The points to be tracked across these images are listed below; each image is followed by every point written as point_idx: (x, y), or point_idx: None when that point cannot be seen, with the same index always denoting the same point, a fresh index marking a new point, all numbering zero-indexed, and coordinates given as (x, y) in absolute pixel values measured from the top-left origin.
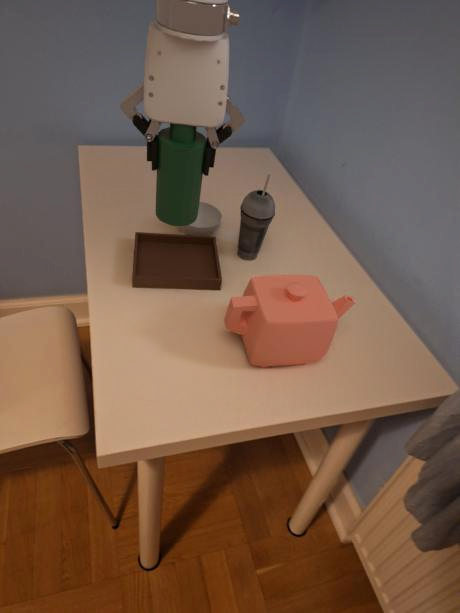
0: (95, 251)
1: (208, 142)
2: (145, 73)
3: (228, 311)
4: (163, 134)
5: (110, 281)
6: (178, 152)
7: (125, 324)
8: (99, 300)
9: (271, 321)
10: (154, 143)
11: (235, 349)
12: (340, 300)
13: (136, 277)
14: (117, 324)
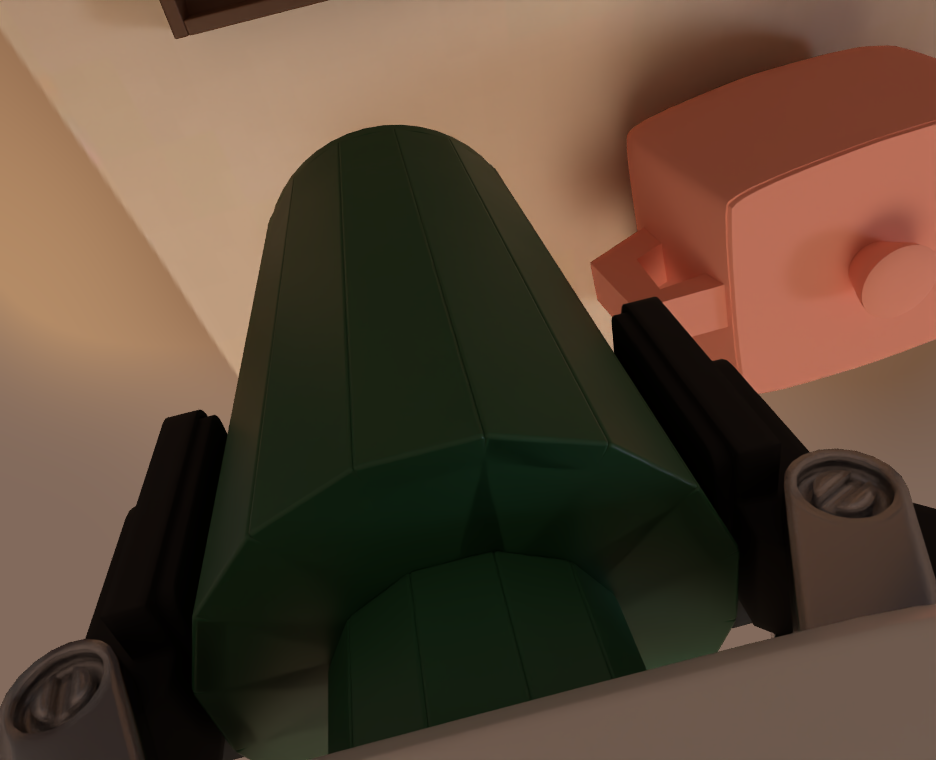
0: None
1: (757, 625)
2: None
3: (615, 300)
4: (267, 701)
5: (77, 15)
6: None
7: (248, 226)
8: (102, 141)
9: (760, 393)
10: (234, 756)
11: (608, 230)
12: None
13: (193, 34)
14: (223, 233)
